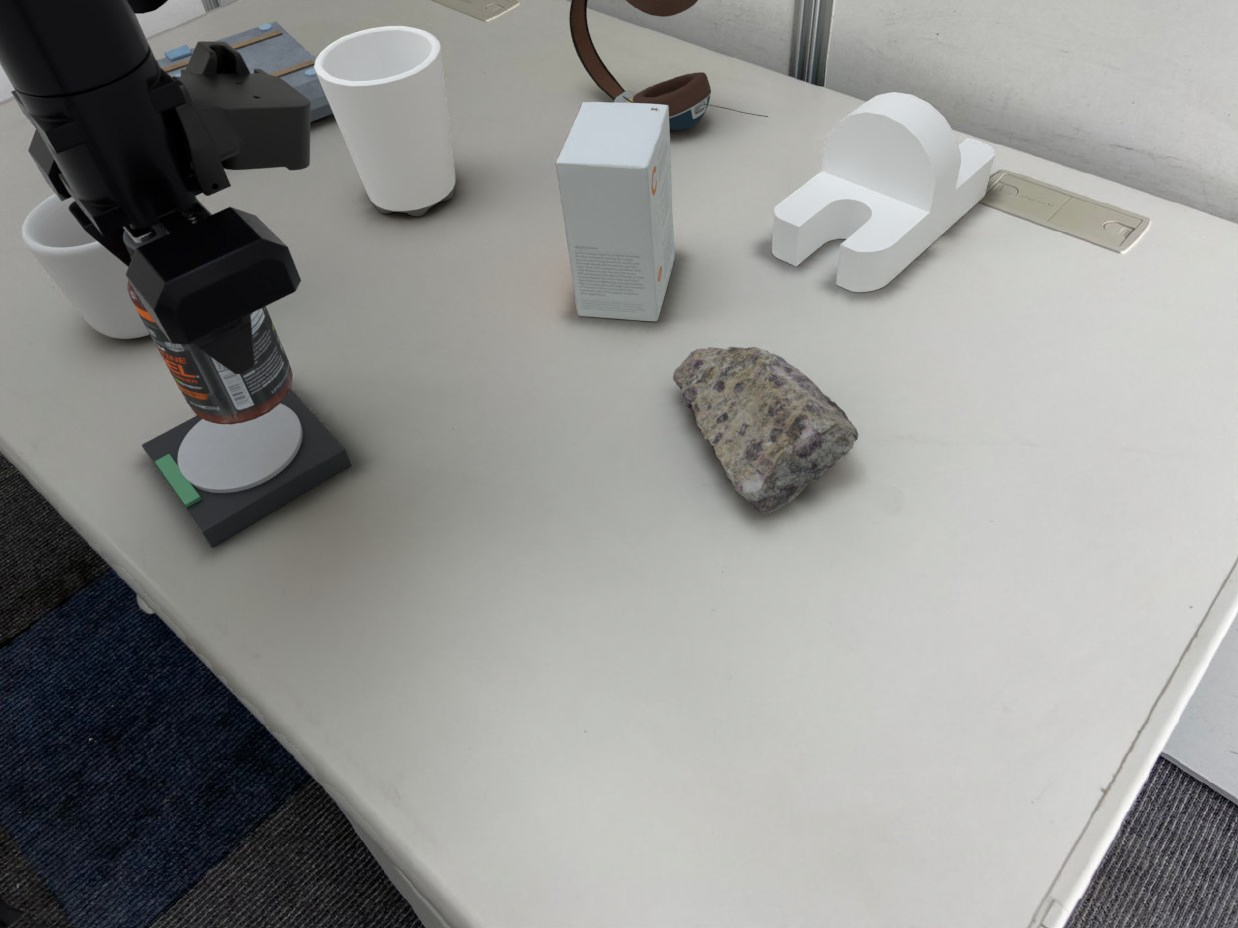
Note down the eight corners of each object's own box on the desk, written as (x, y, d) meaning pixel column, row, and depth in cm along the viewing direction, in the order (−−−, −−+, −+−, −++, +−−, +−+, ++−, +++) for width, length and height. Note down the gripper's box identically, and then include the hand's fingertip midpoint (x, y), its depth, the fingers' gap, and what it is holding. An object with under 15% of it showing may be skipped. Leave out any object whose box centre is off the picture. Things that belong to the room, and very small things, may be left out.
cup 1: (64, 286, 80) (1, 186, 73) (176, 244, 83) (126, 143, 76) (98, 371, 73) (32, 268, 66) (220, 321, 75) (169, 217, 68)
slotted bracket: (870, 299, 72) (887, 182, 64) (764, 252, 76) (770, 138, 69) (992, 189, 80) (1020, 73, 72) (890, 152, 85) (907, 40, 77)
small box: (597, 252, 78) (581, 99, 68) (676, 257, 77) (671, 102, 67) (574, 317, 73) (553, 162, 63) (658, 324, 72) (649, 166, 62)
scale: (211, 548, 60) (199, 528, 59) (151, 460, 66) (138, 440, 64) (352, 465, 64) (343, 444, 63) (283, 389, 70) (274, 368, 68)
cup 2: (363, 238, 82) (317, 95, 72) (353, 178, 88) (309, 39, 78) (479, 213, 83) (449, 69, 73) (461, 155, 89) (431, 16, 80)
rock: (774, 538, 58) (890, 438, 60) (751, 470, 54) (876, 367, 56) (646, 451, 67) (751, 369, 70) (618, 389, 63) (731, 304, 66)
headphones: (791, 134, 86) (610, 88, 98) (786, -50, 75) (584, -76, 87) (748, 166, 83) (567, 115, 95) (736, -20, 72) (534, -51, 84)
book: (135, 196, 89) (110, 146, 85) (91, 125, 98) (66, 77, 94) (347, 117, 95) (332, 68, 92) (287, 58, 105) (271, 11, 101)
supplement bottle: (170, 403, 56) (75, 235, 47) (254, 346, 59) (178, 179, 50) (233, 445, 53) (144, 275, 45) (317, 383, 56) (248, 213, 48)
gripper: (353, 68, 39) (435, 355, 51) (177, -53, 50) (279, 209, 61) (82, 179, 35) (240, 464, 47) (-49, 22, 45) (107, 288, 57)
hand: (220, 340), depth 53 cm, fingers closed on supplement bottle, 6 cm apart
